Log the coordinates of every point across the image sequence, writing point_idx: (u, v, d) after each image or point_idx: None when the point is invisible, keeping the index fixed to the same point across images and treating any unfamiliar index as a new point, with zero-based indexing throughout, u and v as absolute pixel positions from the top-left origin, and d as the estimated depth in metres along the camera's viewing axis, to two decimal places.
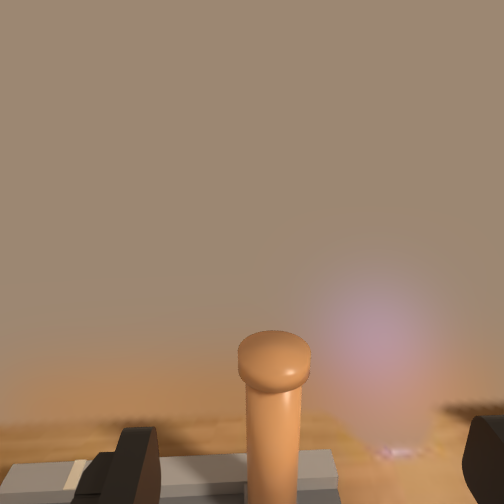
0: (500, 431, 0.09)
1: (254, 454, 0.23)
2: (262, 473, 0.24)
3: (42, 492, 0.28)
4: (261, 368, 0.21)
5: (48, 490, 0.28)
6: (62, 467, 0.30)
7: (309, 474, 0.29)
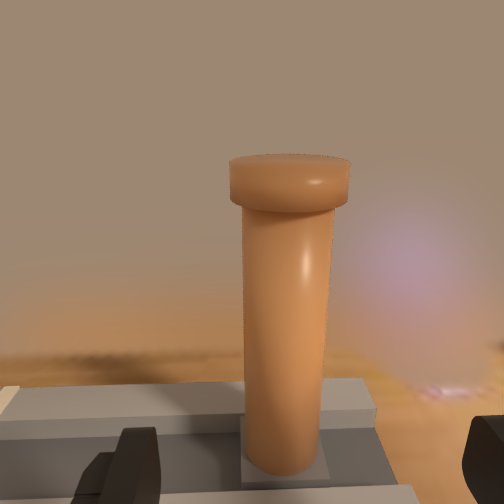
0: (500, 431, 0.09)
1: (256, 343, 0.15)
2: (267, 376, 0.15)
3: None
4: (268, 169, 0.12)
5: None
6: None
7: (334, 406, 0.20)
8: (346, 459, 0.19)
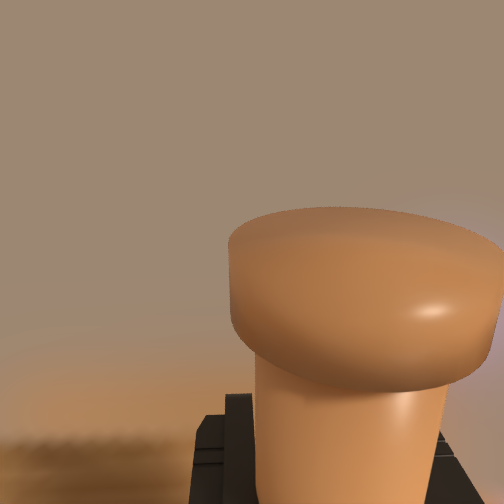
0: None
1: None
2: None
3: None
4: (327, 284, 0.05)
5: None
6: None
7: None
8: None
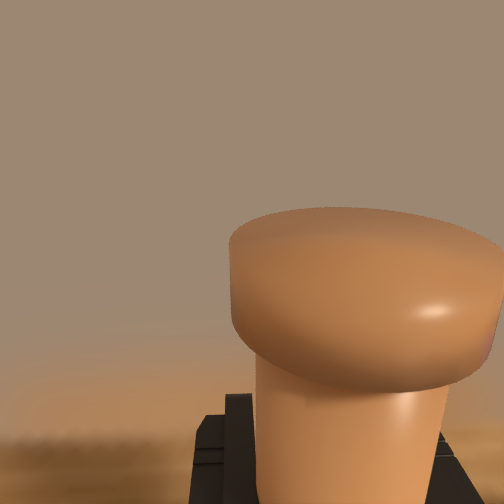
0: None
1: None
2: None
3: None
4: (329, 285, 0.05)
5: None
6: None
7: None
8: None
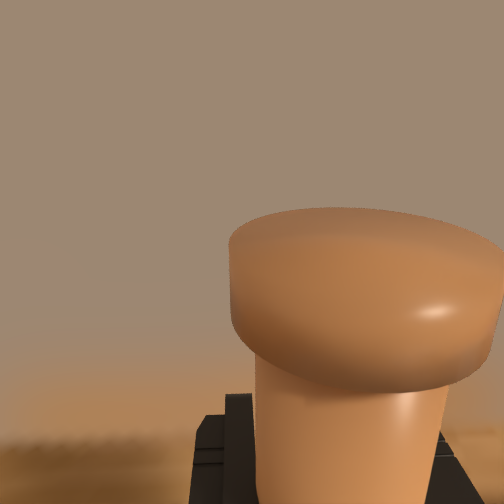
0: None
1: None
2: None
3: None
4: (328, 285, 0.05)
5: None
6: None
7: None
8: None
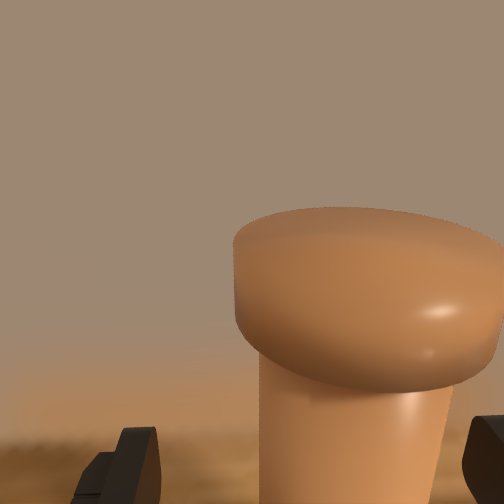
0: (500, 431, 0.09)
1: None
2: None
3: None
4: (334, 284, 0.05)
5: None
6: None
7: None
8: None
